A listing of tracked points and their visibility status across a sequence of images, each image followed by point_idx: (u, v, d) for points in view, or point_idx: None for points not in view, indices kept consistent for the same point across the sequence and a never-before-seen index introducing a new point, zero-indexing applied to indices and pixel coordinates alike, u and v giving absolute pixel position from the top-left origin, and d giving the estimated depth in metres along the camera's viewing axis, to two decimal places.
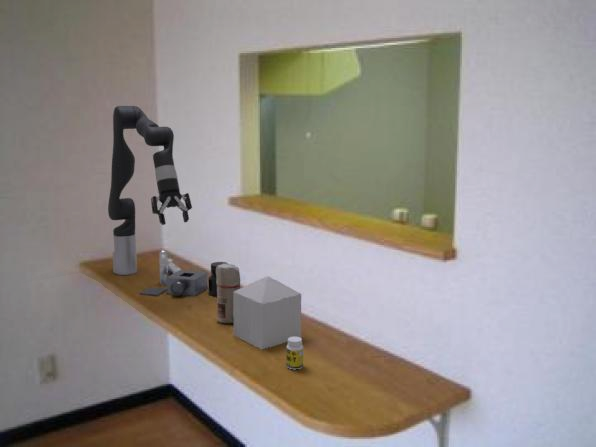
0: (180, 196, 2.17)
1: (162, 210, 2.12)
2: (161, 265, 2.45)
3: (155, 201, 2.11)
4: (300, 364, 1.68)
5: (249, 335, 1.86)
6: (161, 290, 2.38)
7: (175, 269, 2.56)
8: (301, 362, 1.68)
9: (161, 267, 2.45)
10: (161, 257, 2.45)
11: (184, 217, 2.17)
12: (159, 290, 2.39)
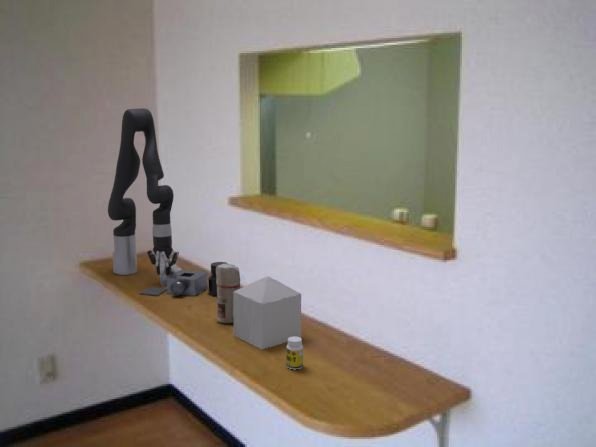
0: (169, 251, 2.44)
1: (157, 263, 2.46)
2: (161, 265, 2.45)
3: (149, 255, 2.46)
4: (300, 364, 1.68)
5: (249, 335, 1.86)
6: (161, 290, 2.38)
7: (176, 269, 2.56)
8: (301, 362, 1.68)
9: (161, 267, 2.45)
10: (161, 257, 2.45)
11: None
12: (159, 290, 2.39)
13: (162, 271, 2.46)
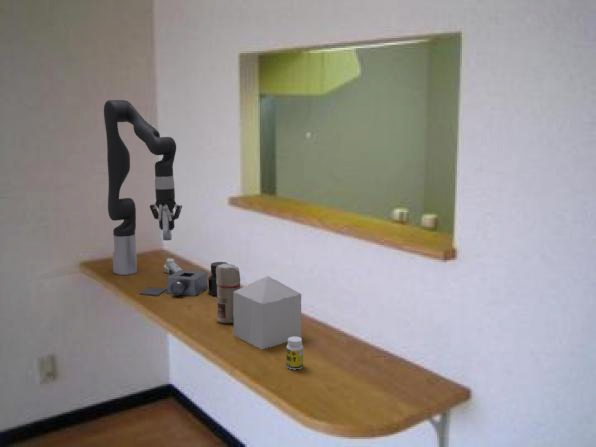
0: (172, 205, 2.38)
1: (159, 217, 2.41)
2: (164, 219, 2.40)
3: (152, 209, 2.41)
4: (300, 364, 1.68)
5: (249, 335, 1.86)
6: (161, 290, 2.38)
7: (176, 269, 2.56)
8: (301, 362, 1.68)
9: (164, 221, 2.40)
10: (164, 211, 2.39)
11: None
12: (159, 290, 2.39)
13: (165, 225, 2.40)
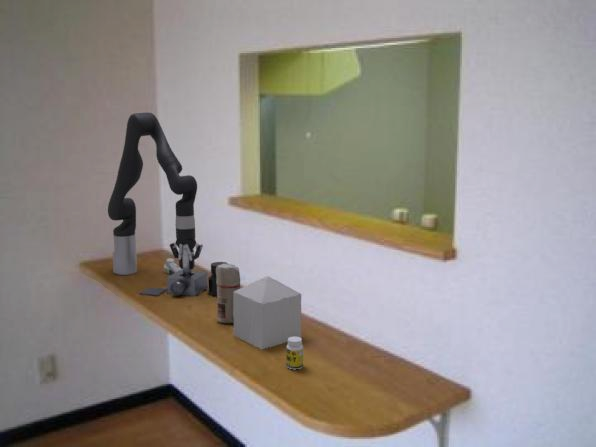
0: (192, 244, 2.35)
1: (180, 256, 2.37)
2: (184, 258, 2.36)
3: (172, 248, 2.37)
4: (300, 364, 1.68)
5: (249, 335, 1.86)
6: (161, 290, 2.38)
7: (176, 269, 2.56)
8: (301, 362, 1.68)
9: (184, 261, 2.36)
10: (184, 250, 2.35)
11: None
12: (159, 290, 2.39)
13: (185, 265, 2.36)
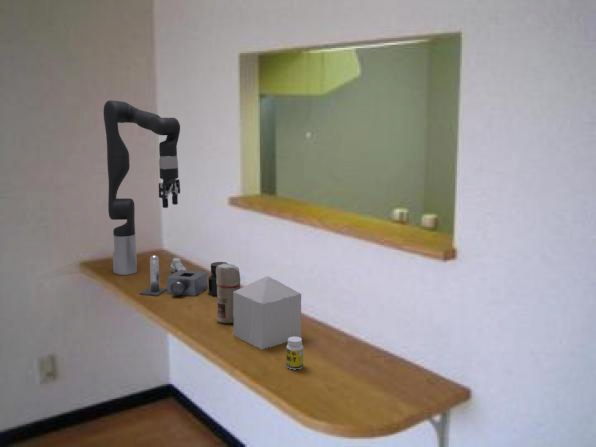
0: (175, 182, 2.49)
1: (167, 195, 2.42)
2: (157, 270, 2.35)
3: (165, 188, 2.40)
4: (300, 364, 1.68)
5: (249, 335, 1.86)
6: (161, 290, 2.38)
7: (180, 269, 2.56)
8: (301, 362, 1.68)
9: (157, 273, 2.35)
10: (157, 262, 2.34)
11: (174, 200, 2.51)
12: (159, 290, 2.39)
13: (158, 276, 2.36)
